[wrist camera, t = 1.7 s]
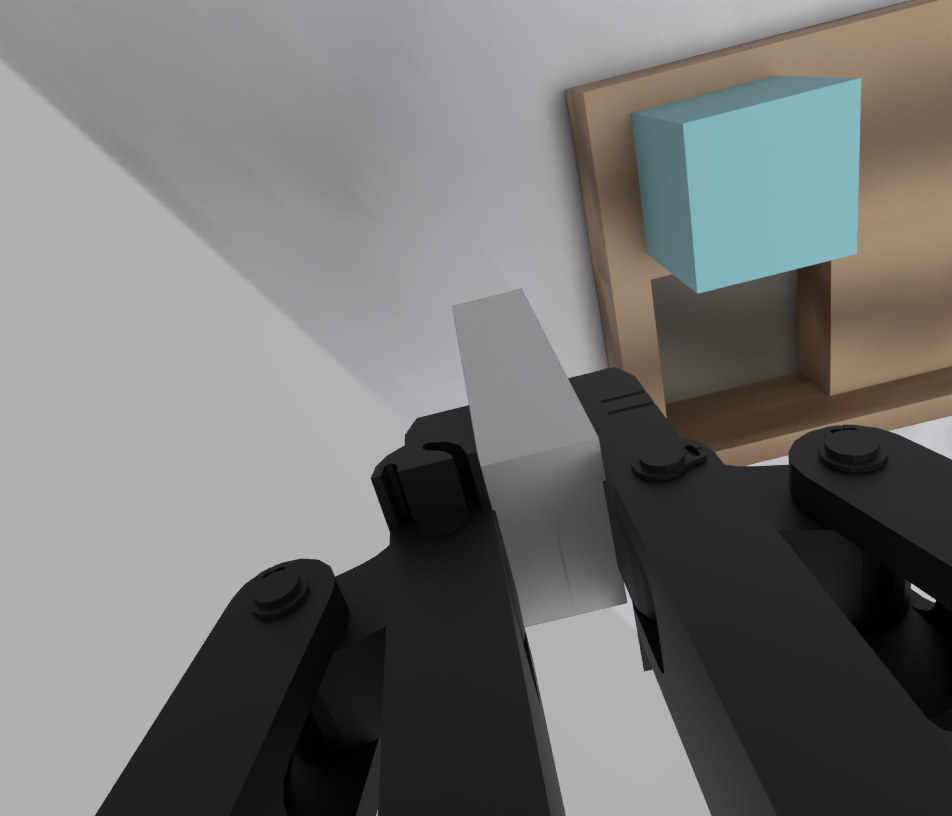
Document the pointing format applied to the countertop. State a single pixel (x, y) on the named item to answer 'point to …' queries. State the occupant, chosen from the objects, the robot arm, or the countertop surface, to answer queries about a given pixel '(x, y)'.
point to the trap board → (800, 290)
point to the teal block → (751, 178)
